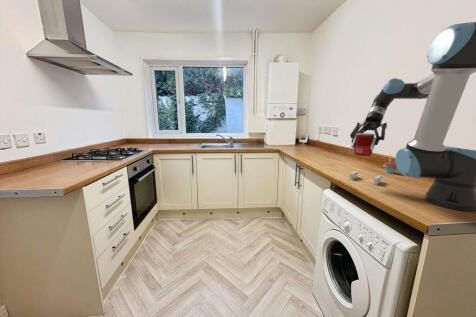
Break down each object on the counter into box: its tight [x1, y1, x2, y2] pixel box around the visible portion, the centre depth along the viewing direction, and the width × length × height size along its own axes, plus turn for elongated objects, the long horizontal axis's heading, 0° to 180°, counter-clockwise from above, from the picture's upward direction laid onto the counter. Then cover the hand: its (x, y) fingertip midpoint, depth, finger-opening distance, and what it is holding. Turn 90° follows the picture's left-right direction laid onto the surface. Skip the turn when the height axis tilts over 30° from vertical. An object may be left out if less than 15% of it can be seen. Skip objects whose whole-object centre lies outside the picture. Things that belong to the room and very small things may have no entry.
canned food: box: [353, 132, 375, 157], centre depth 104 cm, size 8×8×11 cm
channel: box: [349, 170, 383, 186], centre depth 114 cm, size 9×13×4 cm
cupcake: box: [382, 154, 398, 174], centre depth 132 cm, size 9×8×12 cm
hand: (361, 148), depth 102 cm, fingers closed on canned food, 8 cm apart
